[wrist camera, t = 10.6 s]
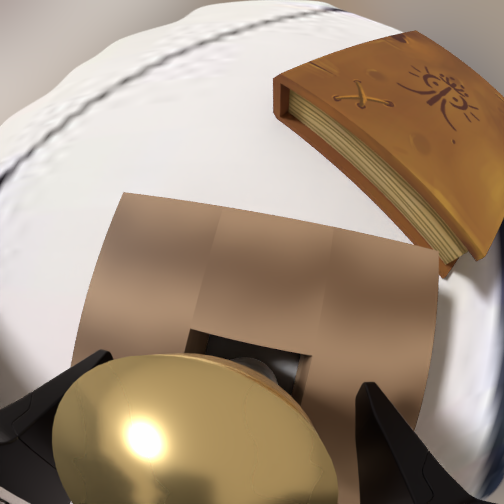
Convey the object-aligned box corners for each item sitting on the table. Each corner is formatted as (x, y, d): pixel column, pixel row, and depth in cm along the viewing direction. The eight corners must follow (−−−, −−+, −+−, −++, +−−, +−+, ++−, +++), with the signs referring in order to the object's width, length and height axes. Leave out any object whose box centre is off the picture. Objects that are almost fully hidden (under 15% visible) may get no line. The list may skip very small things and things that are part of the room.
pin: (300, 410, 15) (369, 546, 2) (220, 437, 14) (128, 576, 2) (269, 334, 16) (267, 305, 4) (189, 363, 16) (22, 383, 4)
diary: (399, 59, 26) (410, 27, 21) (508, 153, 21) (531, 127, 15) (272, 119, 22) (272, 67, 17) (438, 280, 17) (487, 255, 11)
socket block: (344, 515, 11) (360, 548, 7) (98, 453, 14) (62, 470, 9) (404, 272, 17) (438, 251, 13) (150, 223, 19) (123, 192, 15)
